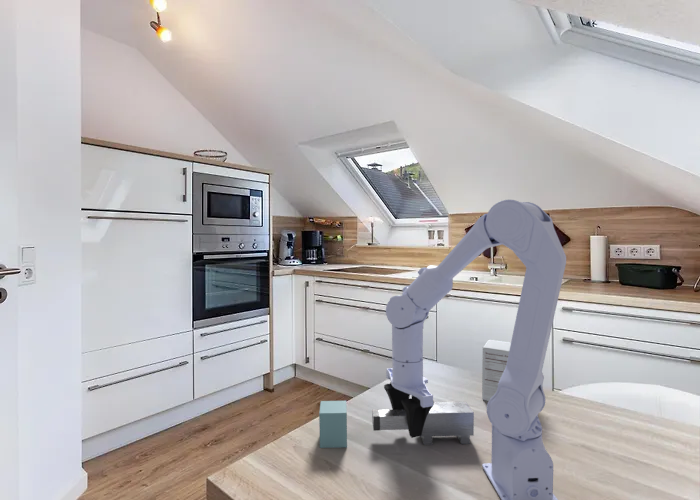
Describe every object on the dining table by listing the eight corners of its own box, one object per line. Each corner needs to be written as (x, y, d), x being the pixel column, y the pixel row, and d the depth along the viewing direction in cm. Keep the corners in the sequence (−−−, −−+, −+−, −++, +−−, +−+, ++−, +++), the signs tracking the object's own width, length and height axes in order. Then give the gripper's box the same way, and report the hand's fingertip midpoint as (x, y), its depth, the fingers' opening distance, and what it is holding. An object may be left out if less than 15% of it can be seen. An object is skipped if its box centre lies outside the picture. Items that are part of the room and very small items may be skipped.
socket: (347, 447, 71) (346, 412, 71) (319, 447, 71) (319, 413, 71) (346, 432, 76) (346, 400, 76) (321, 433, 76) (320, 401, 76)
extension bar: (464, 428, 72) (464, 414, 72) (373, 430, 72) (373, 416, 72) (459, 421, 75) (459, 408, 75) (372, 423, 75) (372, 409, 75)
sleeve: (473, 443, 72) (473, 412, 71) (419, 444, 72) (419, 413, 71) (465, 431, 76) (466, 401, 76) (415, 432, 76) (415, 402, 76)
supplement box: (487, 388, 96) (488, 338, 95) (519, 394, 92) (520, 343, 92) (481, 400, 90) (481, 346, 89) (515, 407, 86) (516, 351, 85)
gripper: (448, 367, 67) (448, 443, 68) (407, 344, 81) (407, 408, 82) (412, 373, 65) (412, 452, 66) (376, 348, 78) (377, 414, 79)
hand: (407, 428), depth 73 cm, fingers open, 5 cm apart
